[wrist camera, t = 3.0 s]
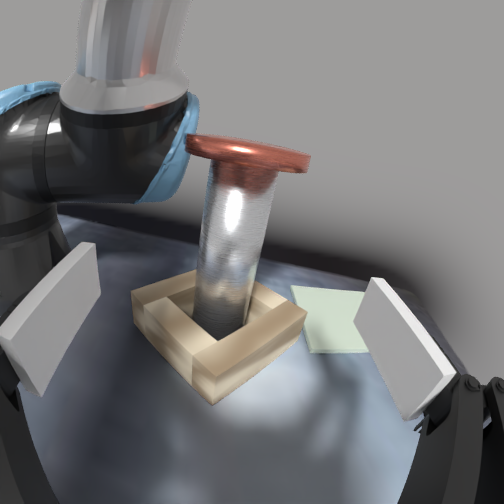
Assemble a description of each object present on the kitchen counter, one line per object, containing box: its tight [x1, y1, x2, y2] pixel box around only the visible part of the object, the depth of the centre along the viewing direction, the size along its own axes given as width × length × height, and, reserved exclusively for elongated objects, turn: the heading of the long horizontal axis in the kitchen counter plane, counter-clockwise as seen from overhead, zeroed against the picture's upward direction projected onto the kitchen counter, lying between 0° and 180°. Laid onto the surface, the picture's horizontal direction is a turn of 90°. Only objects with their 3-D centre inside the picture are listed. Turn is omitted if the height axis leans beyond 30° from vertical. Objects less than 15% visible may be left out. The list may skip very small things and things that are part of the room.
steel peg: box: [184, 133, 311, 341], centre depth 22 cm, size 9×9×18 cm
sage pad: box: [290, 285, 369, 353], centre depth 32 cm, size 12×12×1 cm
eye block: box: [131, 269, 308, 406], centre depth 25 cm, size 12×12×4 cm
